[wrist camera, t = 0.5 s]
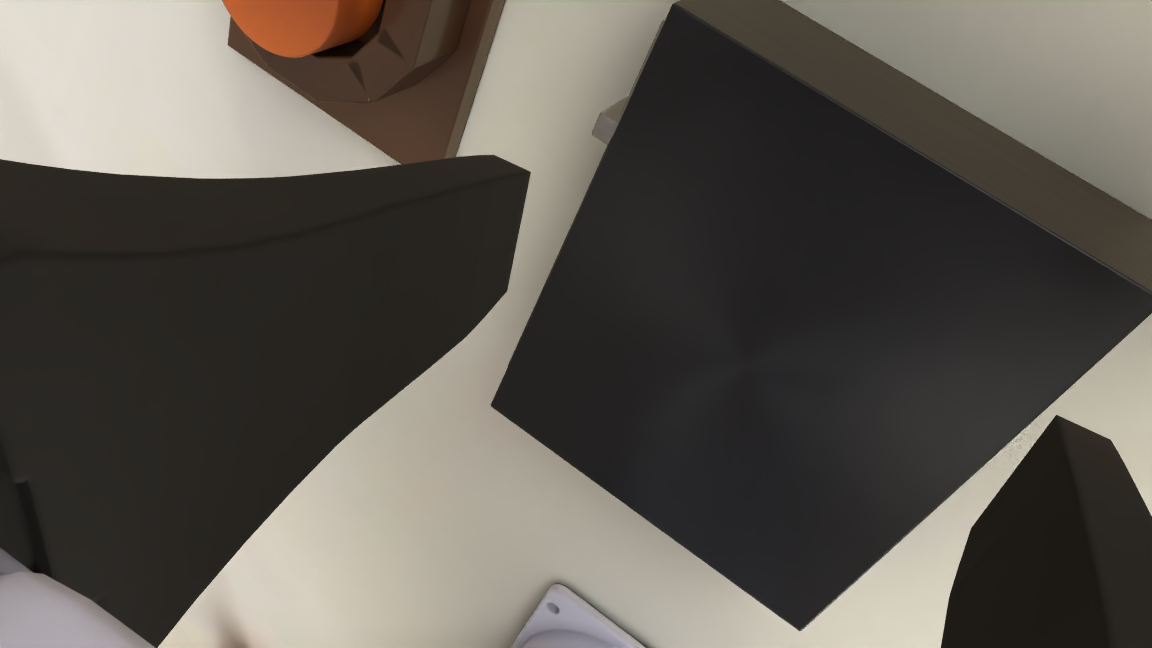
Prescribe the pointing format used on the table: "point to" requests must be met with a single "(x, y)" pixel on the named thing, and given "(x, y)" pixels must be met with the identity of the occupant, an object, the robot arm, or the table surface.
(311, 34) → the button
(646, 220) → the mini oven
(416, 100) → the control pad
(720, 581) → the table surface
